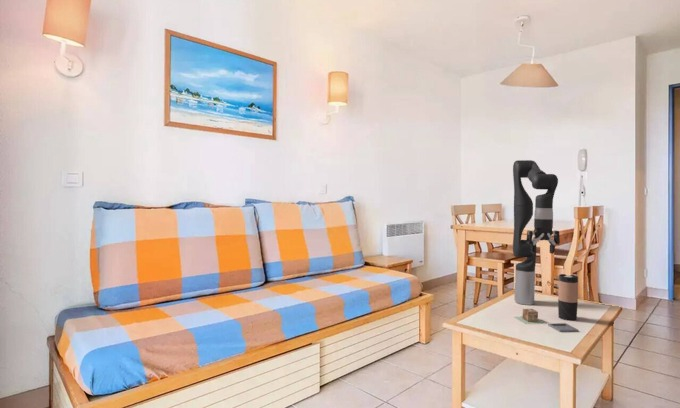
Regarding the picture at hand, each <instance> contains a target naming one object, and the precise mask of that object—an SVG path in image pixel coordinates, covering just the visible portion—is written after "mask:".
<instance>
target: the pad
mask: <svg viewBox="0 0 680 408" xmlns="http://www.w3.org/2000/svg"><path fill="white" fill-rule="evenodd" d="M513 318H515V319H516V320H518V321H520V322H521V323H523V324H524V325H547V324H548V322H547V323H546V321H545V322H544V321H543V320H542V319H540V318H538V322H527V321H526V320H524V319H523V316H513Z"/></svg>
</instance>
